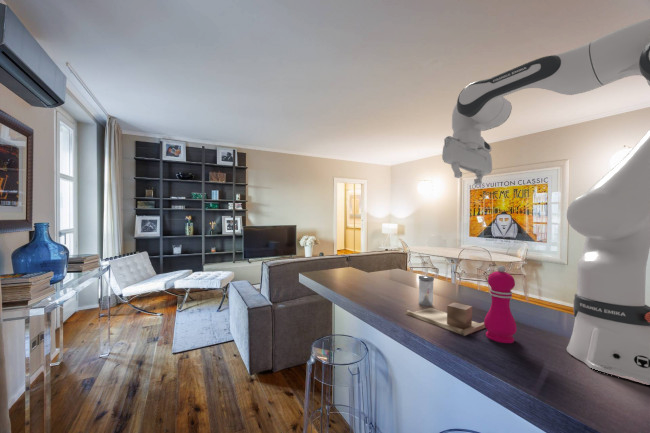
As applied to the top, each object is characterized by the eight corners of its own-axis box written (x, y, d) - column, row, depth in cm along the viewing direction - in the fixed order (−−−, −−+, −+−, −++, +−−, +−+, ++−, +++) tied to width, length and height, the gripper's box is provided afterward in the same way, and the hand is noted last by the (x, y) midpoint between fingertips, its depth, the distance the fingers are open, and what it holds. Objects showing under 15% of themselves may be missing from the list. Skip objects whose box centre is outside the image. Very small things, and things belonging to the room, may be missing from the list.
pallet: (488, 330, 80) (488, 322, 80) (464, 340, 73) (464, 331, 73) (430, 311, 96) (430, 304, 96) (406, 317, 88) (406, 310, 88)
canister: (436, 308, 99) (437, 277, 99) (427, 310, 96) (428, 279, 96) (423, 304, 103) (424, 275, 103) (414, 306, 100) (415, 276, 101)
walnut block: (471, 327, 79) (472, 306, 79) (465, 332, 75) (466, 310, 75) (453, 322, 82) (454, 302, 82) (446, 326, 79) (447, 305, 79)
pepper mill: (485, 334, 77) (486, 262, 77) (516, 341, 73) (518, 265, 73) (482, 343, 71) (484, 265, 72) (516, 351, 67) (518, 269, 67)
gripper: (452, 129, 88) (454, 169, 85) (494, 148, 96) (497, 185, 93) (437, 138, 94) (437, 176, 90) (478, 155, 102) (480, 190, 98)
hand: (468, 180), depth 92 cm, fingers open, 8 cm apart
